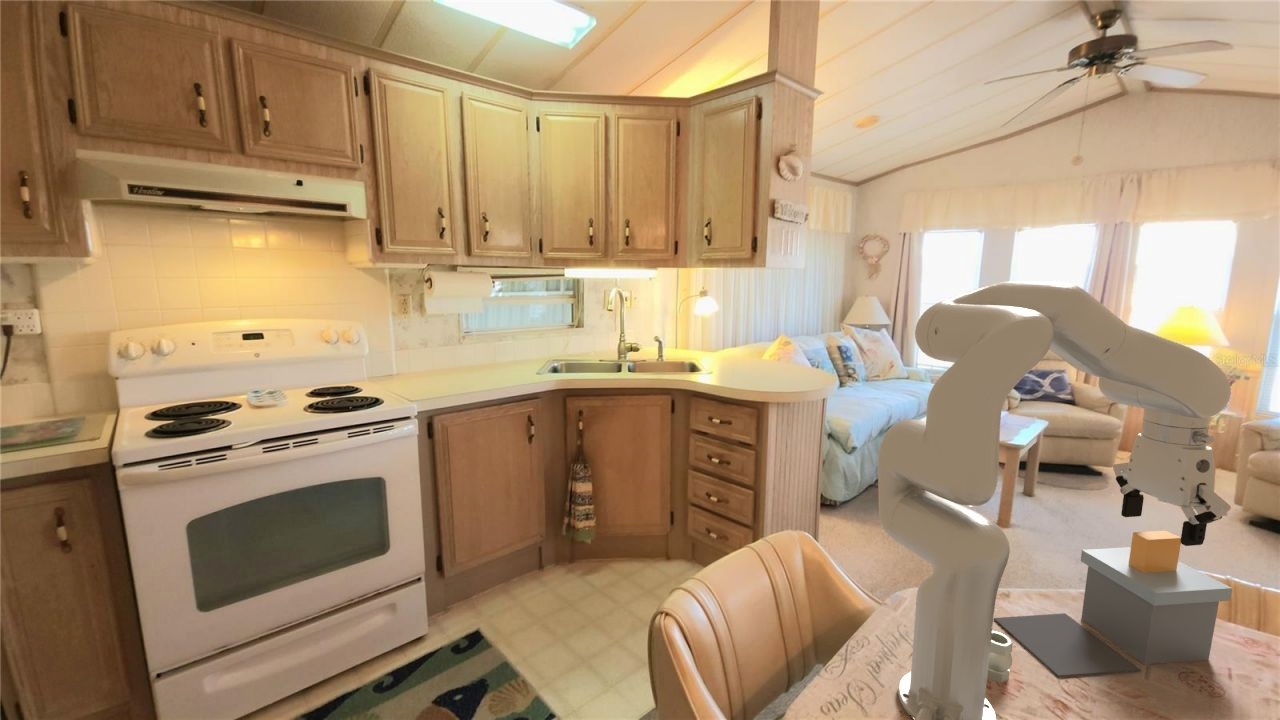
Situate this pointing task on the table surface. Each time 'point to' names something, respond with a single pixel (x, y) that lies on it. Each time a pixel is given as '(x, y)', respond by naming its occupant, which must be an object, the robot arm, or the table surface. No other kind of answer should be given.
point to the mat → (1065, 645)
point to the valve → (999, 657)
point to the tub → (1148, 623)
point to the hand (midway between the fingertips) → (1159, 529)
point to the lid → (1156, 571)
